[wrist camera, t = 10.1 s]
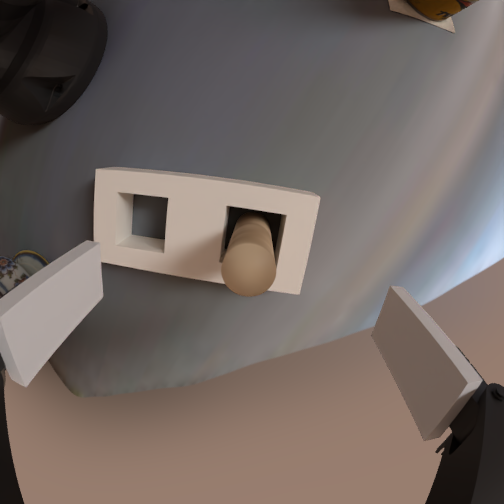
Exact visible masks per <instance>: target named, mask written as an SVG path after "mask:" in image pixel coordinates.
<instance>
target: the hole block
mask: <svg viewBox="0 0 504 504" xmlns="http://www.w3.org/2000/svg"><path fill="white" fill-rule="evenodd" d="M134 194H140V195H149V196H157V197H166V198H168V208H167V220H166V233H165V240H164V239H157V238H151V237H144V236H138V235H132V215H133V198H134ZM319 202H320V197H319V196H318V195H316V194H315V193H313V192H309V191H304V190H299V189H293V188H287V187H281V186H276V185H269V184H263V183H257V182H250V181H244V180H237V179H230V178H222V177H215V176H207V175H198V174H190V173H181V172H171V171H161V170H150V169H138V168H124V167H110V168H101V169H96V176H95V193H94V242H99V243H100V251H101V262H105V263H110V264H115V265H120V266H125V267H131V268H136V269H141V270H147V271H152V272H158V273H163V274H169V275H175V276H180V277H186V278H192V279H198V280H204V281H210V282H216V283H223V284H225V283H224V281H223V278H222V275H221V267H222V263H223V260H224V257H225V254H226V251H227V249H224V247H225V240H226V232H227V225H228V217H229V210H230V206H233V207H240V208H246V209H253V210H259V211H266V212H272V213H278V214H282V216H281V222H280V227H279V233H278V238H277V244H276V249H275V255H274V258H275V264H276V277H275V280H274V282H273V284H272V285H271V287H270V288H269V289H268V290H269V291H276V292H283V293H291V294H298V295H299V294H300V290H301V286H302V281H303V277H304V273H305V269H306V264H307V260H308V255H309V251H310V246H311V242H312V237H313V232H314V227H315V222H316V218H317V213H318V208H319Z"/></svg>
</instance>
